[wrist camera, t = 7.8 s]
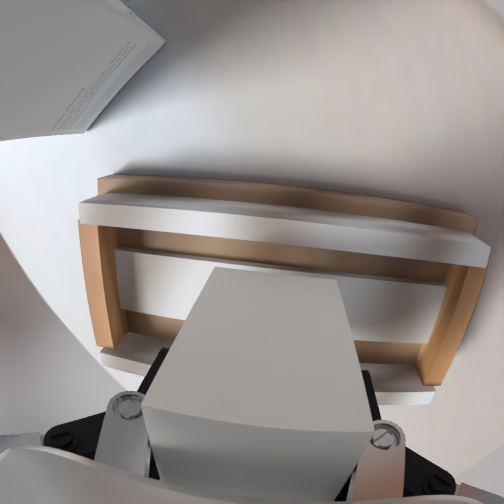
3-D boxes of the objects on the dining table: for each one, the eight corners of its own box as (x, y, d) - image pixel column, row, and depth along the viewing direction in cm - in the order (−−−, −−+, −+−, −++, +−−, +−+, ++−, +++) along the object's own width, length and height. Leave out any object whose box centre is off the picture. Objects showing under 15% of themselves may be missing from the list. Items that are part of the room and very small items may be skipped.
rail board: (465, 212, 15) (502, 233, 11) (415, 371, 19) (431, 411, 15) (111, 174, 17) (70, 186, 13) (125, 337, 21) (98, 372, 17)
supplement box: (171, 41, 14) (-10, -56, 2) (84, 136, 16) (-110, 173, 5) (104, -19, 13) (-42, -91, 1) (32, 67, 15) (-127, 65, 3)
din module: (336, 279, 12) (374, 431, 5) (309, 398, 14) (309, 533, 7) (214, 266, 12) (140, 404, 5) (213, 387, 14) (173, 517, 8)
